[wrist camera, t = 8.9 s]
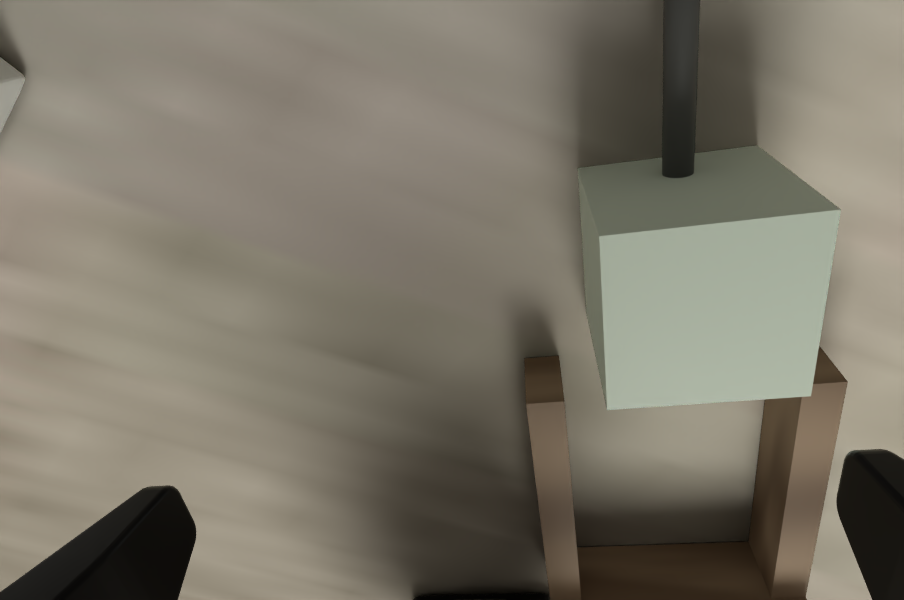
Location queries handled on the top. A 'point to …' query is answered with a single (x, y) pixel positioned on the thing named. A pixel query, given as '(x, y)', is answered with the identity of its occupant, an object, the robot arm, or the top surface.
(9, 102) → the milk carton
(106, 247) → the top surface
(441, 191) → the top surface
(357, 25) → the top surface
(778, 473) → the walnut lane
